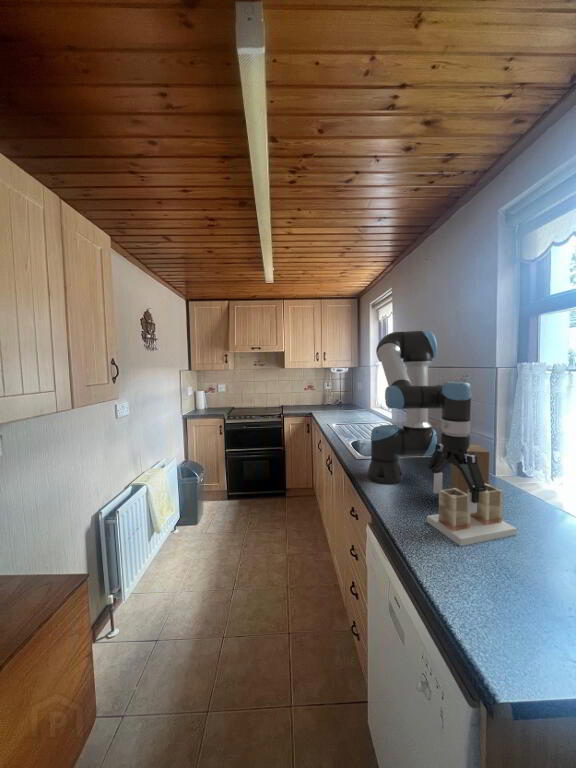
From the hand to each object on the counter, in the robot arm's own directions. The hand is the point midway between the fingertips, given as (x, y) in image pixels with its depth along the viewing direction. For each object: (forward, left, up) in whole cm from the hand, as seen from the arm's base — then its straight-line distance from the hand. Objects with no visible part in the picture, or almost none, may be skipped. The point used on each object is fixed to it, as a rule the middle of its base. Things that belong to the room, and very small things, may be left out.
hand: (453, 502), depth 96 cm
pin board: (0, +6, -9) cm, 11 cm away
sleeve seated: (0, +12, -7) cm, 14 cm away
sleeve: (0, 0, -7) cm, 7 cm away
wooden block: (-16, +21, -9) cm, 28 cm away
